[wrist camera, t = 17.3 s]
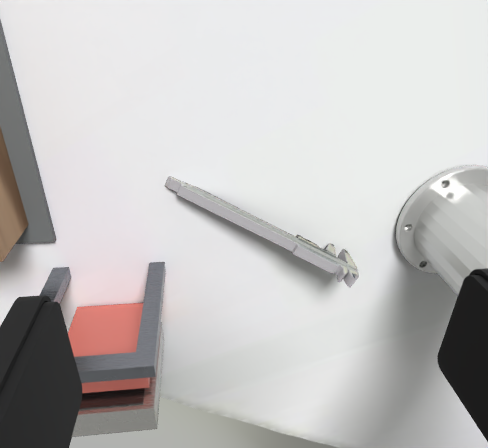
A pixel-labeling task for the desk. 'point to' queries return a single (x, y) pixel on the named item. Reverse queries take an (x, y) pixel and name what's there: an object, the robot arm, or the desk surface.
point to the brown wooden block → (9, 204)
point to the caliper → (272, 232)
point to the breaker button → (107, 339)
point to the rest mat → (22, 155)
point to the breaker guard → (121, 366)
